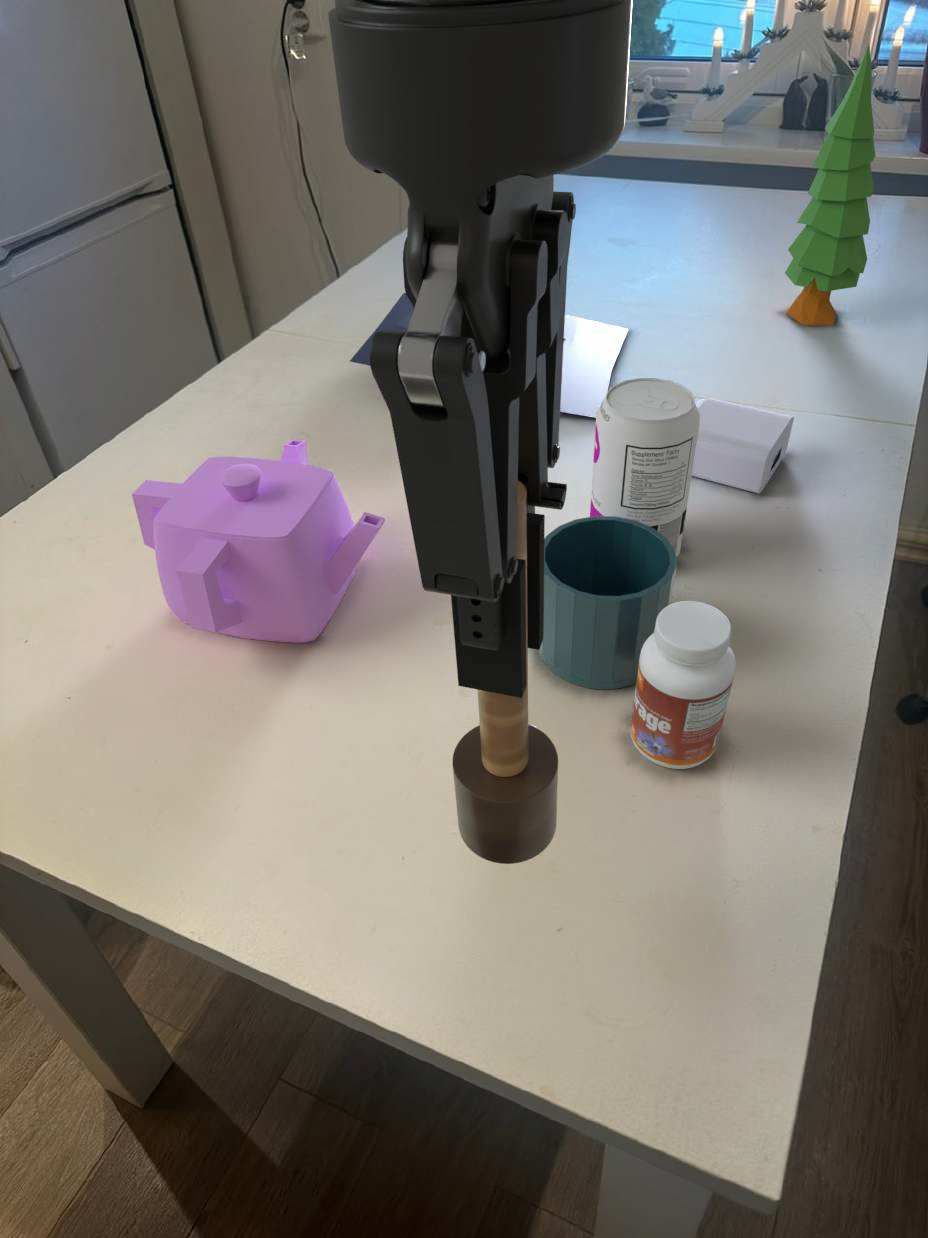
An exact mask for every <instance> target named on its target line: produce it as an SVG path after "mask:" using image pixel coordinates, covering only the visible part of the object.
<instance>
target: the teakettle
mask: <svg viewBox="0 0 928 1238" xmlns="http://www.w3.org/2000/svg"><path fill="white" fill-rule="evenodd" d="M131 498H132V501H133V505H134V509H135V513H136V516H137V521H138V525H139V529H140V533H141V536H142V540H143V544H144V545H145V546H147V547H148V548H150V549H152V550H154V553H155V561H156V566H157V567H156V568H157V573H158V577H159V582H160V586H161V590H162V594H163V596H164V599H165V603H166V604H167V606H168V608H170V610H171V611H172V613H173V614H174V615H175V617H177V619H179V620H180V621H181V622H182V623H183V624H184V623H185V625H188V626H190V629H195V630H200V631H206V632H211V633H216V634H217V633H218V634H221V635H225V636H230V637H235V638H242V639H249V640H257V641H267V642H278V643H296V644H299V643H300V644H301V643H302V644H303V643H310V642H313V641H315V640H316V639H317V638H319V636H320V635H321V633H322V632H323V630H324V629H325V628H326V626H327V625H328V623H329V621H330V620H331V619H332V617H333V615H334V613H335V612H336V610H337V609H338V607H339V605H340V603H341V602H342V600H343V598H344V596H345V595H346V593H347V591H348V589H349V587H350V585H351V583H352V581H353V579H354V577H355V574H356V572H357V568H358V563H359V562H360V561H361V559H362V557H363V556H364V555H365V553H366V552H367V550H368V548H369V547H370V545H371V544H372V542H373V541H374V540H375V538H376V537H377V535H378V533H379V532H380V530H381V528H382V527H383V525H384V524H385V523H386V517H382V516H379V515H376V514H372V513H369V512H365V511H363V512H362V514H361V516H360V517H359V520H358V521H357V522H356V524H355V523H354V518H353V516H352V513H351V511H350V508H349V505H348V503H347V500H346V498H345V496H344V493H343V492H342V489H341V487H340V484H339V482H338V480H337V477H336V476H335V474H334V473H333V471H330V470H328V469H326V468H322V467H318V466H314V465H309V459H308V446H307V440H306V439H295V438H291V439H290V440H288V441H287V442H286V443H284V444H283V450H282V454H281V458H280V460H276V459H268V458H257V457H256V458H255V457H241V456H212V457H208V458H207V459H206V460H205V461H203V463H202V464H200V465H199V466H198V467H197V468H196V469H195V470H194V471H193V472H192V473H191V474H190V475H189V476H188V478H186V480H184V482H183V483H181V482H171V481H161V480H151V479H145V480H144V481H143V482H142V483H141V484H140V485H139V486H138V487H137V488H136V489H135V490H134V491H133V492H132V493H131Z"/></svg>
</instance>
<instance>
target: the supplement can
mask: <svg viewBox="0 0 928 1238" xmlns="http://www.w3.org/2000/svg"><path fill="white" fill-rule="evenodd" d="M695 402H696V397H695V396H694V393H693V392H692V390H690V389H689V388H687V387H686V386H684V385H683V384H681V383H678V382H674V381H672V380H670V379H664V378H657V377H638V378H637V377H635V378H631V379H625V380H622V381H621V382H618V383H616V384H613V385H612V386H611V387H610V388H608V391H607V394H606V397H605V398H604V400H603V401H602V403H601V404H600V406H599V408H598V411H597V414H596V418H595V427H594V445H593V459H592V460H593V461H592V474H591V475H592V477H591V490H590V491H591V492H590V508H589V517H593V516H615V517H620V518H625V519H630V520H635V521H638V522H640V523H642V524H645V525H647V526H650V527H652V528H654V529H655V530H657V531H658V532H659V533H661V534H662V535H663V536H664V537H666V538H667V539H668V541H669V542H670V544H671V545H672V547H673V548H674V550H675V552H676V558H677V557H678V556H679V555H680V554H681V549H682V548H681V547H682V541H683V535H684V529H685V523H686V515H687V510H688V509H687V508H688V503H689V495H690V489H691V482H692V477H693V476H692V470H693V464H694V457H695V450H696V444H697V437H698V431H699V424H700V416H701V415H700V413H699V411H698V409H697V406H696V404H695Z"/></svg>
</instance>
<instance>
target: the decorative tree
mask: <svg viewBox="0 0 928 1238" xmlns="http://www.w3.org/2000/svg"><path fill="white" fill-rule="evenodd" d="M872 72H873V68H872V59H871V49H870V43H868V44H867V47H866V49H865V51H864V54H863V56H862V59H861V62H860V64H859V67H858V69H857V71H856V72H855V75H854V77H853V79H852V81H851V83H850V85H849V87H848V89H847V90H846V92H845V95H844V97H843V99H842V101H841V102H840V104H839V105H838V107H837V109H836V110H835V112H834V114H833V115H832V116H831V118H830V120H829V122H828V123H827V124H826V126H825V127H824V130H825V131H826V132H827V134H826V136H825V139H824V141H823V143H822V145H821V148H820V150H819V152H818V154H817V156H816V158H815V160H814V163H813V164H812V167H814V168H816V169H817V168H818V170H817V172H816V175H815V177H814V178H813V181H812V183H811V185H810V188H809V189H808V192H807V194H808V195H809V196H811V199H810V200H809V202H808V204H807V205H806V207H805V209H804V210H803V212H802V214H801V215H800V217H799V218H798V219H797V221H796V223H797V224H802V225H805V227H803V229H802V230H801V231H800V233H799V234H798V235H797V236H796V238H795V239H794V241H793V242H792V243H791V244H790V246H789V247H788V249H787V250H788V252H789V254H790V255H791V257H792V259H791V261H790V263H789V265H788V266H787V268H786V270H785V271H784V274H785V276H787V278H788V279H789V280H790V282H791V283H792V284H793V285H794V286H797V287H802V288H803V289H802V290H801V292H800V293H799V294H798V295H797V297H796V298H795V300H794V301H793V302H792V304H791V306H789V308H788V309H787V310H786V312H785V315H787V316H789V317H790V318H791V319H793V320H795V321H796V322H798V323H800V324H801V325H805V326H812V327H813V326H834V325H835V322H836V318H837V312H836V310H835V307H834V306H833V304H832V302H831V300H830V299H831V294H832V292H833V291H839V290H845V289H852V288H857V286H858V283H859V279H860V276H861V274H864V272H865V269H866V266H867V265H866V264H867V262H868V255H867V249H866V245H865V239H864V235H868V234H869V231H870V225H871V218H870V212H869V211H870V210H869V205H868V198H871V197H872V196H873V193H874V191H875V186H874V179H873V171H872V167H871V165H872V164H871V163H872V162H873V161H874V160H875V158H876V157H877V156H876V149H875V142H874V141H875V140H874V135H875V125H874V117H873V115H874V114H873V108H872V107H873V106H872V105H873V104H872V76H873V75H872V74H873V73H872Z"/></svg>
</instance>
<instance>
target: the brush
mask: <svg viewBox="0 0 928 1238" xmlns="http://www.w3.org/2000/svg"><path fill="white" fill-rule="evenodd" d="M516 559H523V560H526V673H527V685H526V688H525V691H524V694H523V696H522V698H519V697H514V696H508V695H503V694H498V693H493V692H488V691H483V690H477V706H478V719H479V720H478V721H479V725H477V726H475V727H473V728H471V729H470V730H469V731H467V732H466V733H465V734H464V735H463V736H462V738H460V740H459V741H458V742H457V744H456V746H455V748H454V751H453V754H452V759H451V760H452V761H451V762H452V773H453V775H452V776H453V783H454V792H455V794H454V795H455V804H456V805H455V806H456V814H457V825H458V830H459V834H460V837H461V839H462V841H463V842H464V844H465V845H466V847H467V848H468V849H469V850H470V851H471V852H472V853H473V854H475V855H476V856H478V857H479V858H481V859H482V860H486V861H489V862H492V863H496V864H502V865H513V864H521V863H523V862H526V861H527V862H528V861H529V860H531V859H534V858H535V857H537V856H539V855H540V854H541V853H542V852H544V851H545V850H546V849H547V848H548V847H549V845H550V844H551V842H552V841H553V839H554V837H555V834H556V830H557V821H558V820H557V819H558V817H557V815H558V784H559V755H558V752H557V751H558V750H557V748H556V746H555V744H554V743H553V741H552V739H551V738H550V737H549V736H548V735H547V734H546V733H545V732H544V731H542V730H541V729H540V728H538V727H537V726H535V725H532V724H531V723H529V648H528V617H527V492H526V488H525V486H524V485H523V484H522V483H521V482H520V481H518V495H517V551H516Z"/></svg>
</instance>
